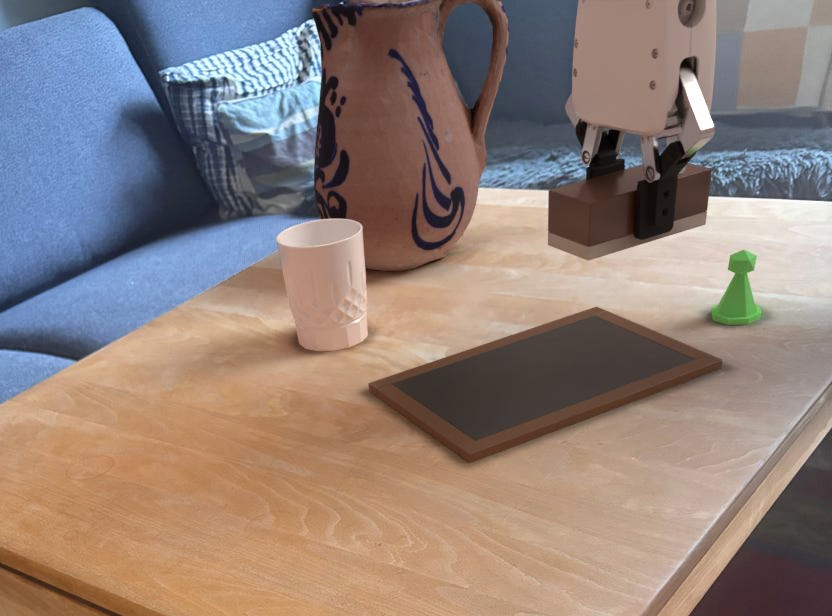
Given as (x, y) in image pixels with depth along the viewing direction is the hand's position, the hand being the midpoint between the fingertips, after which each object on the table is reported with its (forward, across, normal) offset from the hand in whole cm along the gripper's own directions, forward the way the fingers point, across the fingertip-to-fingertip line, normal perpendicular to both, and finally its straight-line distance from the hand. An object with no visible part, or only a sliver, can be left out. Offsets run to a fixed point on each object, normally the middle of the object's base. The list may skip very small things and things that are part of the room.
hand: (627, 223), depth 74 cm
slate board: (+12, +2, +6) cm, 14 cm away
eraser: (+1, 0, 0) cm, 1 cm away
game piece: (+12, +2, -14) cm, 18 cm away
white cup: (+12, +23, +15) cm, 30 cm away
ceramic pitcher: (+12, +38, -3) cm, 40 cm away
